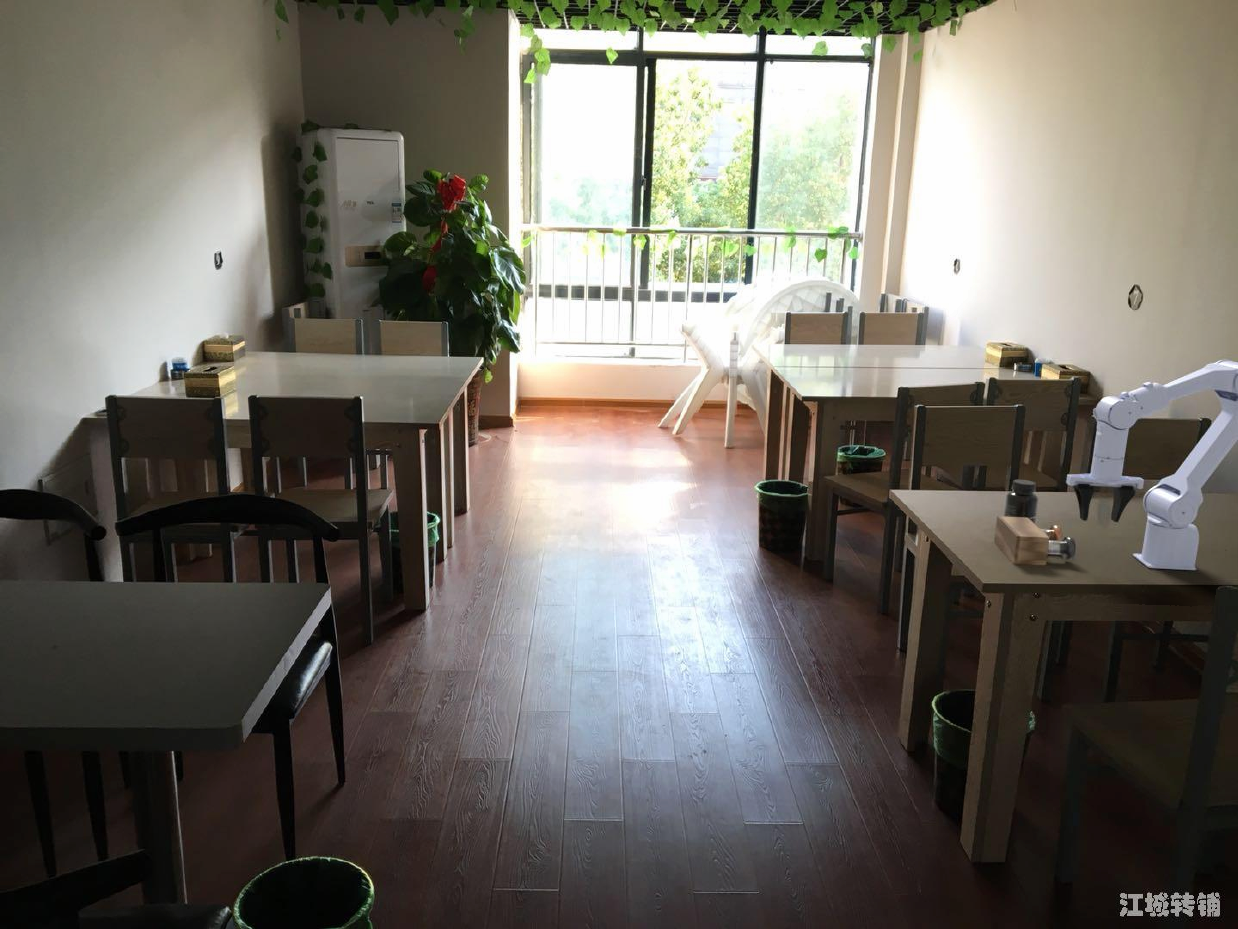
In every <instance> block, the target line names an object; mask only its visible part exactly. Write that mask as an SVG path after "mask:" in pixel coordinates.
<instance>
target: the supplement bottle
mask: <svg viewBox="0 0 1238 929" xmlns="http://www.w3.org/2000/svg"><path fill="white" fill-rule="evenodd" d="M1036 485H1037V484H1036V482H1034V481H1031V480H1027V479H1014V480H1012V486H1011V490H1012V491H1011V490H1010V491H1009V492H1008V493H1007V494H1006V497H1005V503H1004V510H1003V516H1004V517H1026V518H1029V519H1030V520H1031V521H1032V522H1033V523H1034V524H1035V525H1036V519H1037V512H1038V506H1039V497H1038V496H1037V494H1035V492H1036V487H1037V486H1036Z"/></svg>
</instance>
